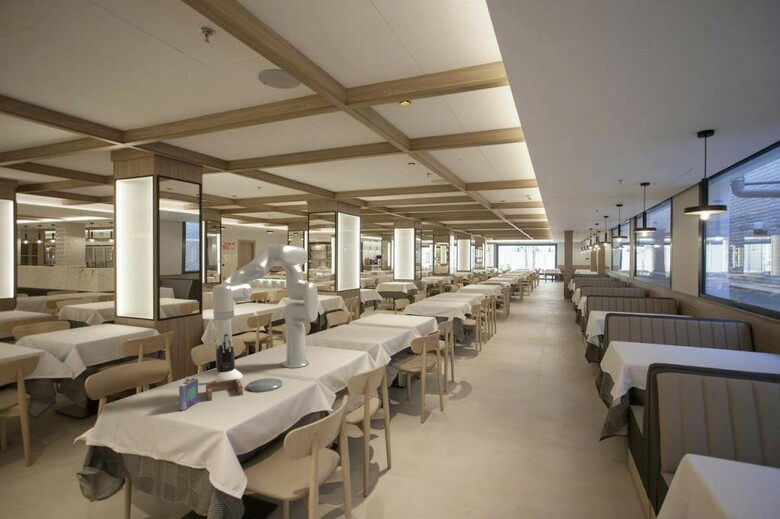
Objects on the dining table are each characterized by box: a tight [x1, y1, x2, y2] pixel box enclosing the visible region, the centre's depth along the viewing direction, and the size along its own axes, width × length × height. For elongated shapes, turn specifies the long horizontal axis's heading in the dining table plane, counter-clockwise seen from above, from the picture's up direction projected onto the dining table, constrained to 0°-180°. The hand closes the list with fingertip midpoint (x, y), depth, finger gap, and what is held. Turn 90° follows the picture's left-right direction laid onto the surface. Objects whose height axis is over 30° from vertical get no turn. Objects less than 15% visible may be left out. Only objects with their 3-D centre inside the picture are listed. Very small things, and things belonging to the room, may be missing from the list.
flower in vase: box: [209, 327, 244, 382], centre depth 170 cm, size 13×11×25 cm
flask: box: [178, 376, 199, 412], centre depth 142 cm, size 9×3×11 cm, turn 173°
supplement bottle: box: [215, 343, 236, 373], centre depth 155 cm, size 7×7×12 cm
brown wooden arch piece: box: [205, 379, 244, 402], centre depth 155 cm, size 11×12×4 cm
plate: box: [246, 377, 283, 393], centre depth 164 cm, size 14×14×1 cm
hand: (225, 359), depth 155 cm, fingers closed on supplement bottle, 6 cm apart
